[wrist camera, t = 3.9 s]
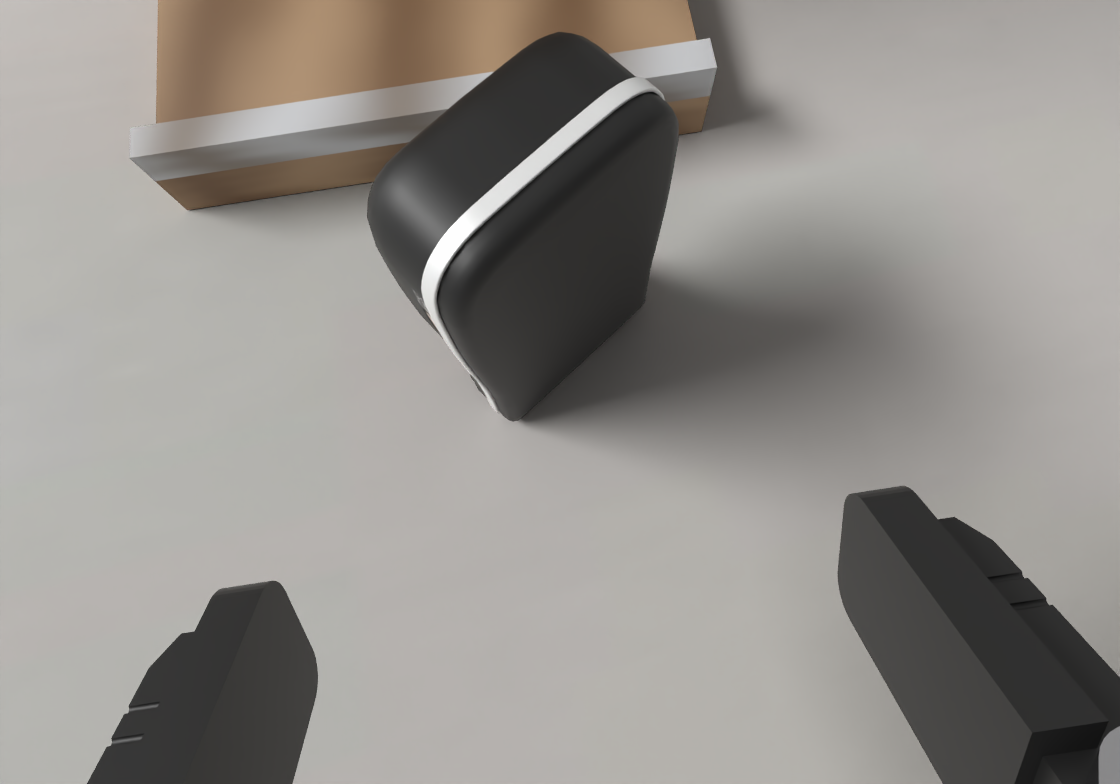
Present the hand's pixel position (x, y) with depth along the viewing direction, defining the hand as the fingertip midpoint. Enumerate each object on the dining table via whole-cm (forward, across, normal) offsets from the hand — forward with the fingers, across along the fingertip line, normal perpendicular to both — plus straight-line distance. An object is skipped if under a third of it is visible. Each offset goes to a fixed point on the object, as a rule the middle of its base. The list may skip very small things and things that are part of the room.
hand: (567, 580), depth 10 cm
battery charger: (+15, 0, +3) cm, 15 cm away
